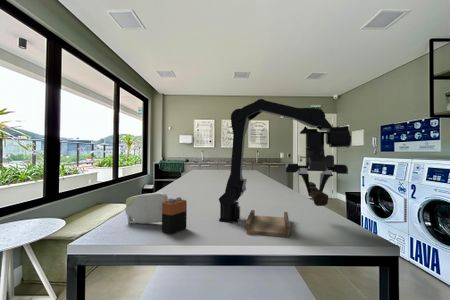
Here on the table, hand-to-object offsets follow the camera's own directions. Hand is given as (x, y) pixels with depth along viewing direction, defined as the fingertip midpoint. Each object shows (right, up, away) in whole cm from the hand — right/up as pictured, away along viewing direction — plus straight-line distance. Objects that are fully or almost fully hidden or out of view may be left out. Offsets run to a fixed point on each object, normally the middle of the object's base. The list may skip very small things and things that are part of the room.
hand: (314, 194), depth 75 cm
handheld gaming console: (-56, -11, +2) cm, 57 cm away
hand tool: (-1, -2, 0) cm, 2 cm away
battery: (-45, -11, -4) cm, 47 cm away
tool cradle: (-15, -11, 0) cm, 19 cm away
